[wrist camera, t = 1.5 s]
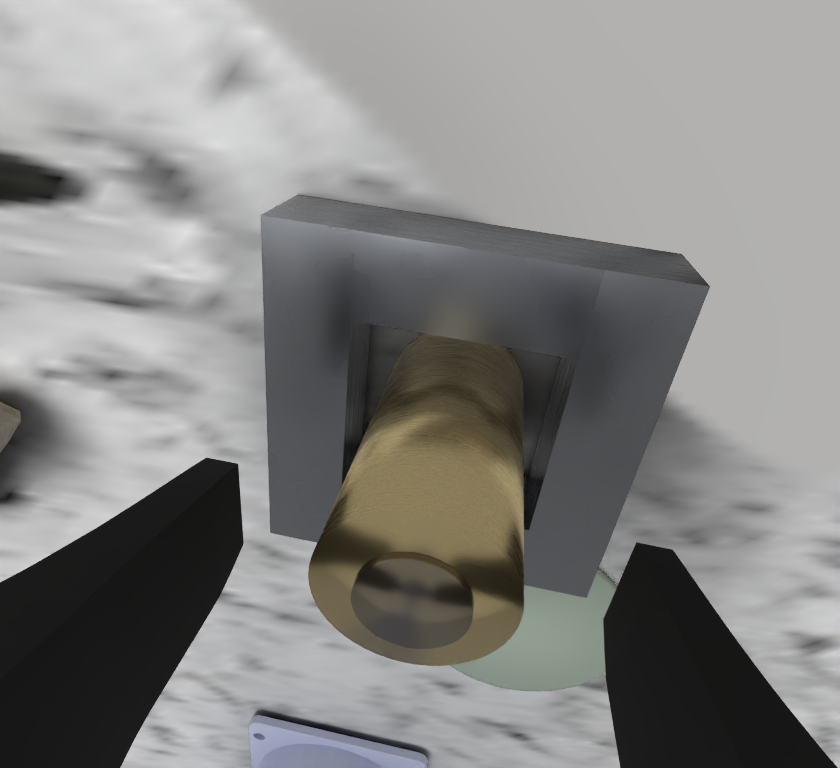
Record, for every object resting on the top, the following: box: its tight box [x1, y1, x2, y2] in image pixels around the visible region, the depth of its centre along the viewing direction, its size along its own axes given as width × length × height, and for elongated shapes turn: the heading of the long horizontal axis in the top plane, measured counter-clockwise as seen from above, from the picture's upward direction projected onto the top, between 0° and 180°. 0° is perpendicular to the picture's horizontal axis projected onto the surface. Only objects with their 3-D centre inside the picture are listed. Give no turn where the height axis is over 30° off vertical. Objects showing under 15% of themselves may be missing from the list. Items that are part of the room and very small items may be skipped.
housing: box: [261, 195, 710, 598], centre depth 14 cm, size 9×9×2 cm
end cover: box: [308, 334, 524, 666], centre depth 12 cm, size 4×4×7 cm
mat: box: [451, 569, 617, 691], centre depth 19 cm, size 7×7×1 cm
